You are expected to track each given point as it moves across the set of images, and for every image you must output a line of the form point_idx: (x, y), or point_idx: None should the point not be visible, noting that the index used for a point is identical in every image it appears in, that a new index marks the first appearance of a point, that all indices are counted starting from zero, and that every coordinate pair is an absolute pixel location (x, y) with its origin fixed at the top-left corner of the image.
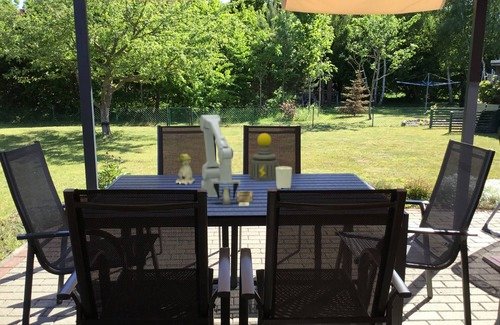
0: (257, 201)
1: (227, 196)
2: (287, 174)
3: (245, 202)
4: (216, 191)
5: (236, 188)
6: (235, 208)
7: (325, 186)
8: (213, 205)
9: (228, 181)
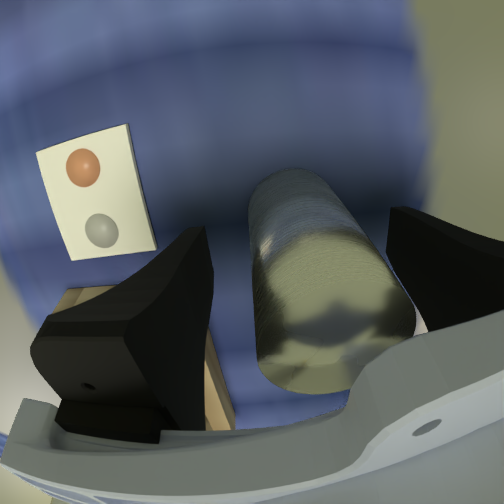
0: (43, 303)
1: (285, 211)
2: (54, 499)
3: (97, 250)
4: (480, 236)
5: (83, 302)
6: (143, 15)
7: (4, 442)
8: (417, 126)
9: (306, 486)
